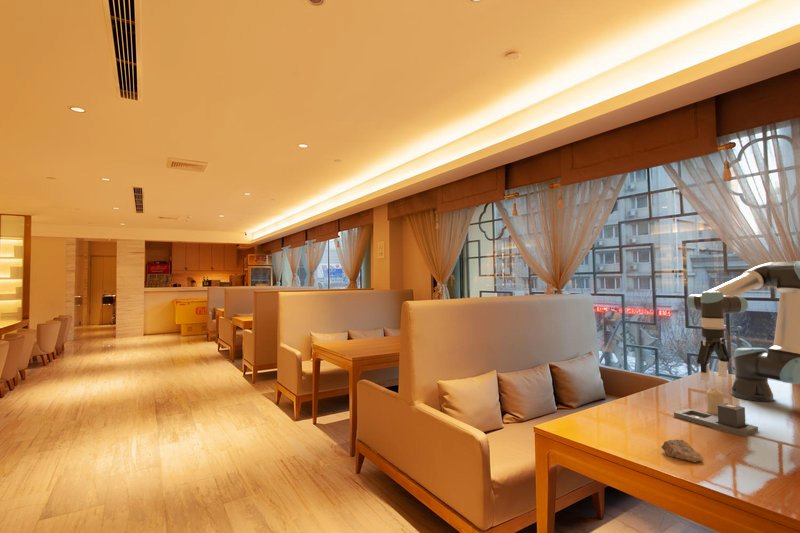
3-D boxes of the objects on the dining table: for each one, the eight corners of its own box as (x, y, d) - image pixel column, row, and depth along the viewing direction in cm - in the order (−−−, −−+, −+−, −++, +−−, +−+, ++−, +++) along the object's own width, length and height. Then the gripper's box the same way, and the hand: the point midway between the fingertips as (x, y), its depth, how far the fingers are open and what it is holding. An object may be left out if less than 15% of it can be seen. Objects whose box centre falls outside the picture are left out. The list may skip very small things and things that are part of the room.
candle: (727, 415, 167) (726, 391, 167) (711, 415, 168) (711, 390, 168) (719, 411, 172) (718, 387, 172) (704, 410, 173) (703, 387, 173)
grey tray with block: (687, 412, 171) (687, 392, 171) (758, 431, 150) (757, 408, 150) (674, 416, 167) (673, 395, 167) (744, 436, 145) (743, 412, 146)
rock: (657, 453, 134) (684, 460, 124) (657, 434, 135) (684, 440, 126) (679, 457, 135) (707, 464, 126) (679, 438, 137) (707, 444, 127)
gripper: (718, 325, 180) (719, 373, 179) (686, 328, 169) (687, 380, 168) (738, 327, 173) (740, 377, 172) (706, 330, 162) (707, 384, 161)
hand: (714, 378), depth 170 cm, fingers open, 13 cm apart
